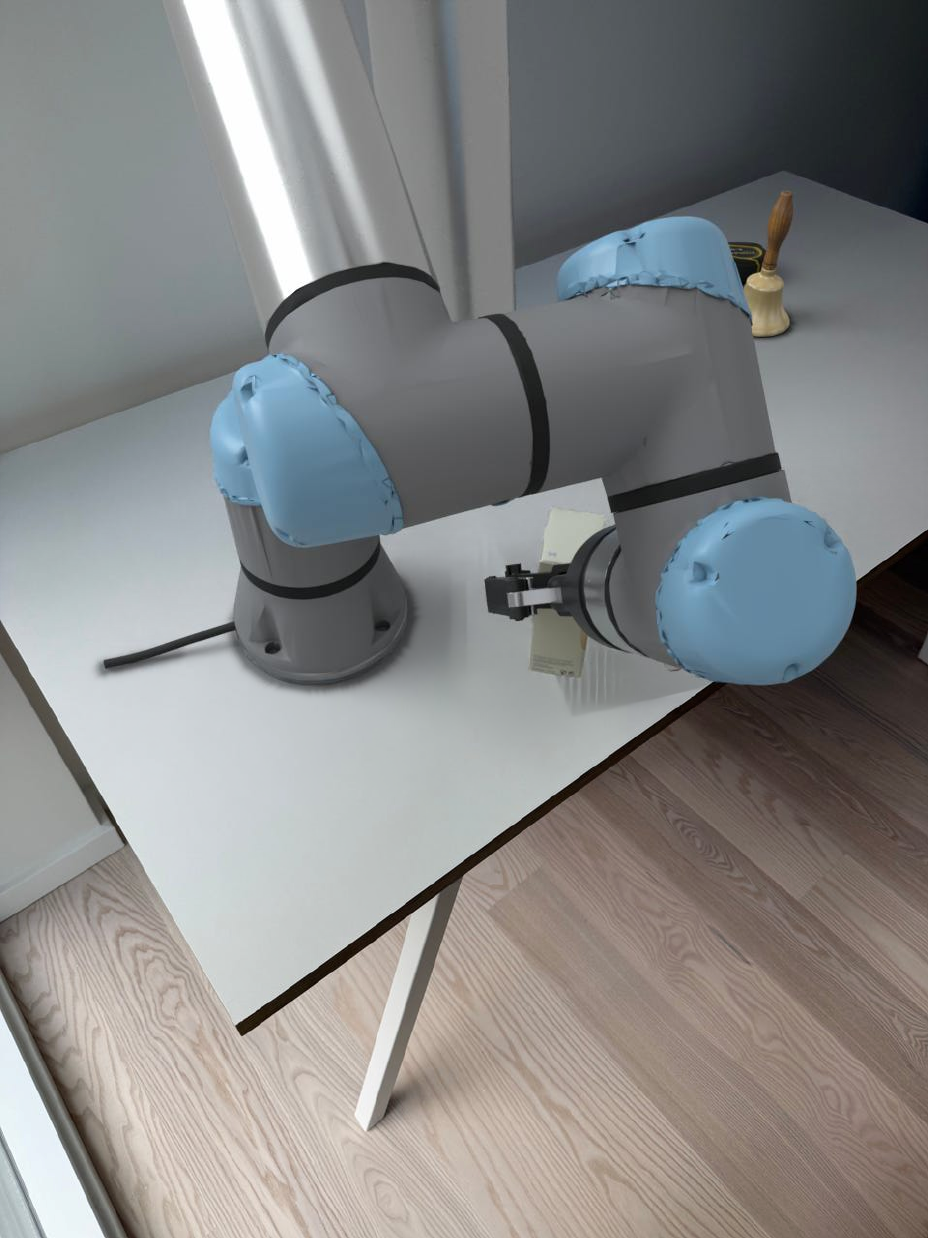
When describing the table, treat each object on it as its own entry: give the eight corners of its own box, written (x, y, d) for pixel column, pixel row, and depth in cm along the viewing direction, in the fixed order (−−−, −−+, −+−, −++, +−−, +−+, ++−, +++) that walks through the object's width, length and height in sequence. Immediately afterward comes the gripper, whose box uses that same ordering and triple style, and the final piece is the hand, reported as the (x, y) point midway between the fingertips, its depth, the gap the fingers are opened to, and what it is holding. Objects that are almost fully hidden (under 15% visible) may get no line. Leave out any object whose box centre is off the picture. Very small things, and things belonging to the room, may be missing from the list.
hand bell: (721, 332, 112) (751, 204, 100) (724, 300, 118) (753, 174, 106) (788, 341, 111) (827, 212, 99) (789, 307, 116) (826, 181, 104)
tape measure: (757, 264, 124) (764, 237, 121) (766, 288, 120) (773, 261, 117) (708, 263, 124) (713, 236, 122) (715, 287, 120) (721, 260, 117)
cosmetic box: (581, 681, 70) (599, 573, 61) (526, 672, 71) (536, 563, 62) (589, 621, 75) (608, 511, 65) (538, 613, 75) (549, 503, 66)
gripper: (487, 679, 49) (442, 643, 71) (813, 631, 51) (668, 611, 74) (470, 542, 48) (430, 550, 71) (800, 500, 50) (658, 521, 73)
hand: (551, 581), depth 72 cm, fingers closed on cosmetic box, 6 cm apart
